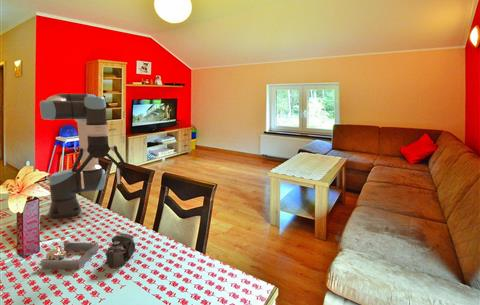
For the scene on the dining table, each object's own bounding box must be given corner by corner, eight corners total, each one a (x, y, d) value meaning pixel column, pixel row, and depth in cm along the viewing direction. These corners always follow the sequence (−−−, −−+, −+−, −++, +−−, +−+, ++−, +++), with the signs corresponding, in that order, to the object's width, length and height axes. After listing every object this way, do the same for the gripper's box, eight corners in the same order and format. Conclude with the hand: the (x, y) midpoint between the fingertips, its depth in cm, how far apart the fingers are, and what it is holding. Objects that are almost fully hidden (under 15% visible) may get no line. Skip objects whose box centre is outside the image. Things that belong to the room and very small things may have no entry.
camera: (133, 265, 107) (132, 241, 105) (105, 269, 104) (103, 245, 102) (136, 248, 119) (135, 226, 118) (111, 251, 117) (109, 229, 115)
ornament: (64, 262, 108) (63, 254, 108) (43, 266, 106) (42, 257, 105) (69, 252, 116) (68, 244, 115) (49, 255, 113) (48, 246, 113)
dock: (41, 268, 104) (41, 261, 103) (65, 248, 118) (64, 242, 117) (79, 269, 104) (78, 262, 103) (98, 249, 118) (98, 243, 117)
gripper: (61, 138, 104) (66, 192, 108) (131, 134, 117) (134, 183, 121) (61, 135, 110) (66, 187, 114) (128, 132, 123) (130, 179, 127)
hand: (101, 185), depth 117 cm, fingers open, 13 cm apart
